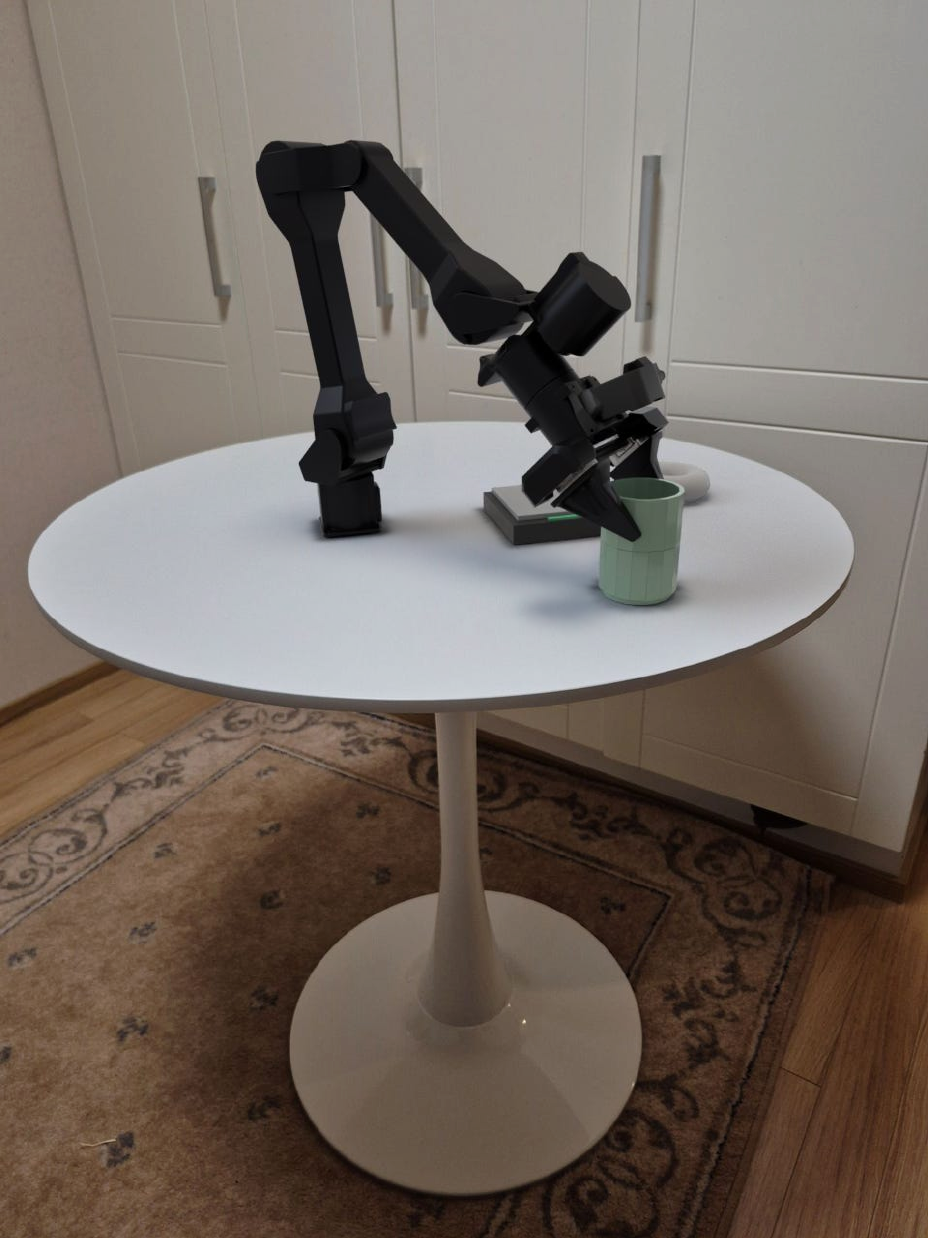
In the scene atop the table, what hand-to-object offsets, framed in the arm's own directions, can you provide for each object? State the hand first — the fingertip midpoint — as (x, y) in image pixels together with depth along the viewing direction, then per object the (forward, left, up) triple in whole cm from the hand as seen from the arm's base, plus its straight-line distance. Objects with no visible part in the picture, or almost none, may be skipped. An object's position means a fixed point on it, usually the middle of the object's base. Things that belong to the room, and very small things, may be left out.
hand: (655, 527), depth 77 cm
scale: (-2, +23, -7) cm, 24 cm away
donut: (+15, +28, -7) cm, 33 cm away
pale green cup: (-1, +1, -7) cm, 7 cm away
